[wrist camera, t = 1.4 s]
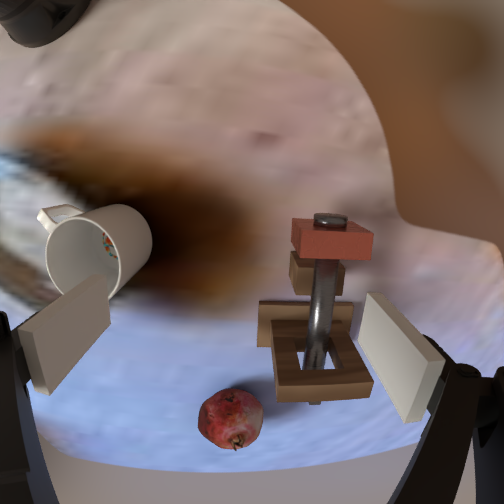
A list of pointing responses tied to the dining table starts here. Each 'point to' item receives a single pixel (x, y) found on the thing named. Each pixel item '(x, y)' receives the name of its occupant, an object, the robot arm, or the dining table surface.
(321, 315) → the hook rod
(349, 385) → the wooden square frame
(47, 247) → the mug
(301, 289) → the saddle block
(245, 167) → the dining table surface
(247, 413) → the fruit
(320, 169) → the dining table surface
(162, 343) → the dining table surface
